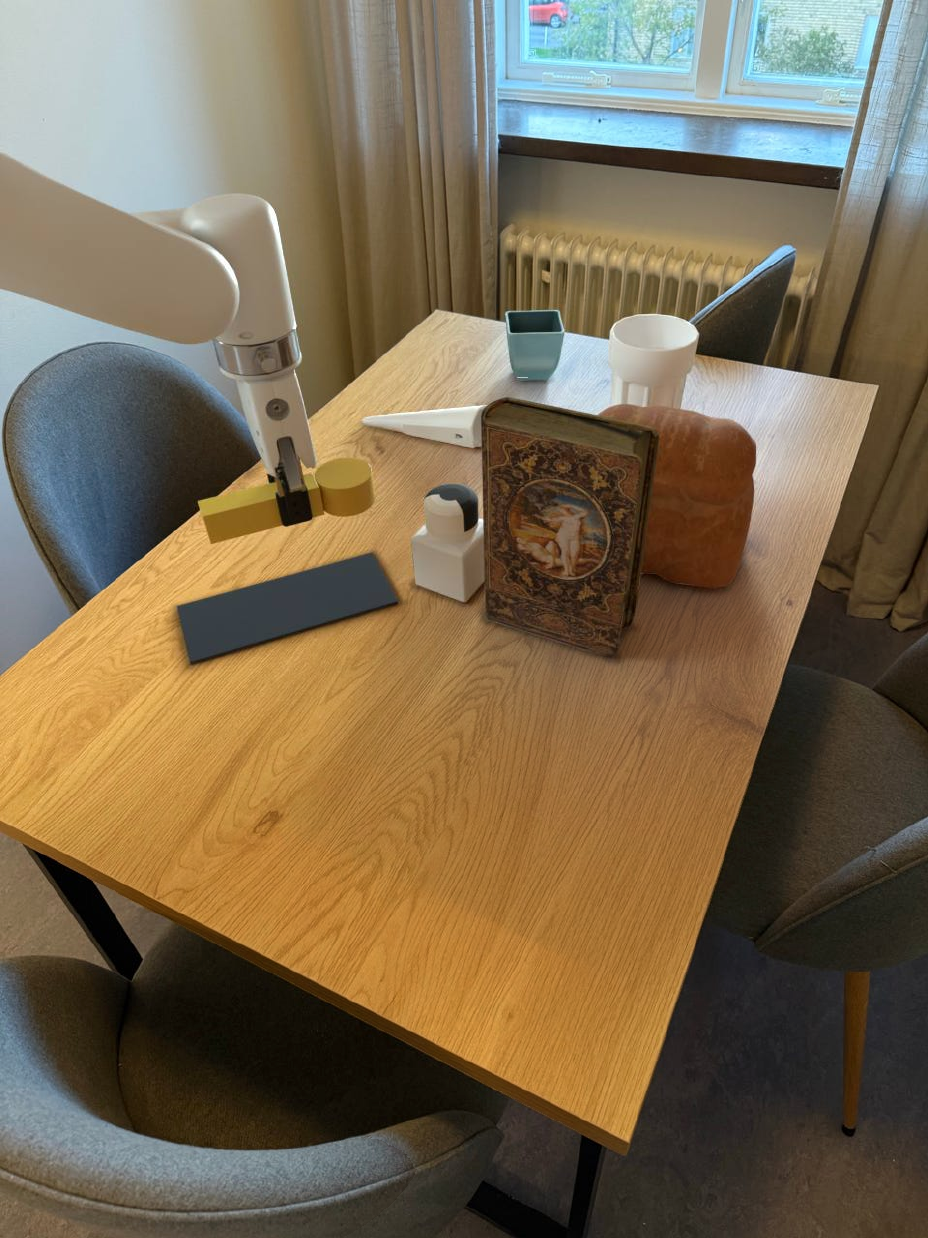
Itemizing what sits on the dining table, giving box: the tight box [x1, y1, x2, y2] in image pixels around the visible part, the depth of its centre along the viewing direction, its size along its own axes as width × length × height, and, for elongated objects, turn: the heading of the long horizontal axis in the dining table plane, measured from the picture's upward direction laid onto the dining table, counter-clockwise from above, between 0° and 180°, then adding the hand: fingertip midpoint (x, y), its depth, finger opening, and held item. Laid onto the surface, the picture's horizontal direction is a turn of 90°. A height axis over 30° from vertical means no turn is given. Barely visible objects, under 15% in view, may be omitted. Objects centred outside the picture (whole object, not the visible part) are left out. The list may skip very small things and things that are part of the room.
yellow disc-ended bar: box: [197, 457, 376, 545], centre depth 87 cm, size 18×6×4 cm, turn 112°
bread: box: [597, 404, 757, 589], centre depth 97 cm, size 18×21×17 cm
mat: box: [176, 552, 399, 665], centre depth 97 cm, size 24×10×1 cm, turn 112°
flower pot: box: [504, 309, 565, 382], centre depth 134 cm, size 9×9×9 cm
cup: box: [607, 313, 700, 409], centre depth 113 cm, size 11×11×17 cm
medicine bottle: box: [410, 482, 485, 603], centre depth 96 cm, size 7×7×12 cm
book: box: [481, 396, 659, 658], centre depth 85 cm, size 16×6×25 cm, turn 64°
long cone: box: [361, 404, 488, 449], centre depth 124 cm, size 6×6×19 cm
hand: (293, 511), depth 88 cm, fingers closed on yellow disc-ended bar, 3 cm apart
